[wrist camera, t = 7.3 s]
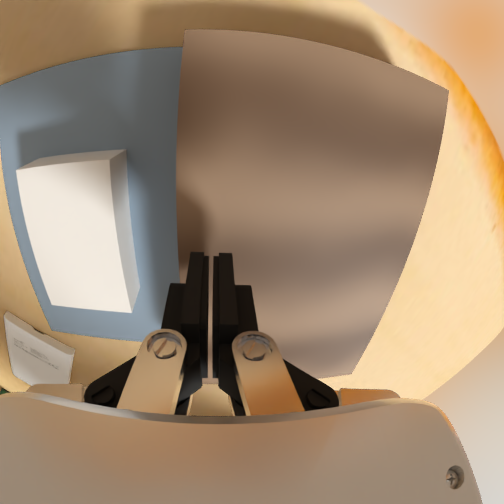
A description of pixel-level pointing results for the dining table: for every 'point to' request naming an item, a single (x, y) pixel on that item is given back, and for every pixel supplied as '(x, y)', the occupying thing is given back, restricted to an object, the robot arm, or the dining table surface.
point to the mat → (101, 139)
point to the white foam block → (82, 229)
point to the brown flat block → (303, 183)
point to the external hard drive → (36, 354)
